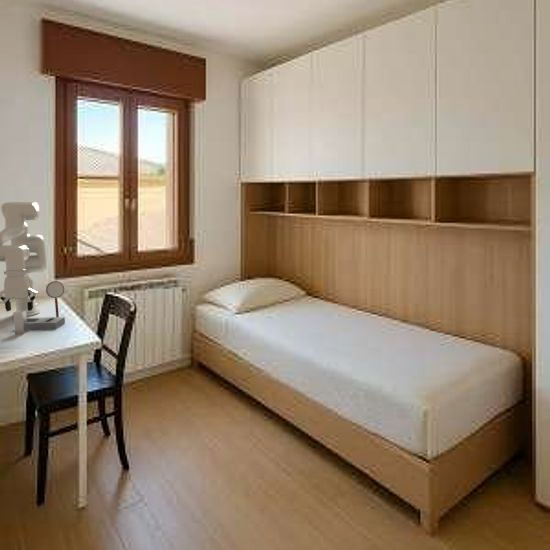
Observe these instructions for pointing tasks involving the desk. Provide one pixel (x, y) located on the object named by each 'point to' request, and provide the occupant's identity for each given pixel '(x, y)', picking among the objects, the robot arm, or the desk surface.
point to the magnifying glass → (55, 292)
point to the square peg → (20, 322)
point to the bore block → (45, 322)
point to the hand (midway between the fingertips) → (19, 310)
